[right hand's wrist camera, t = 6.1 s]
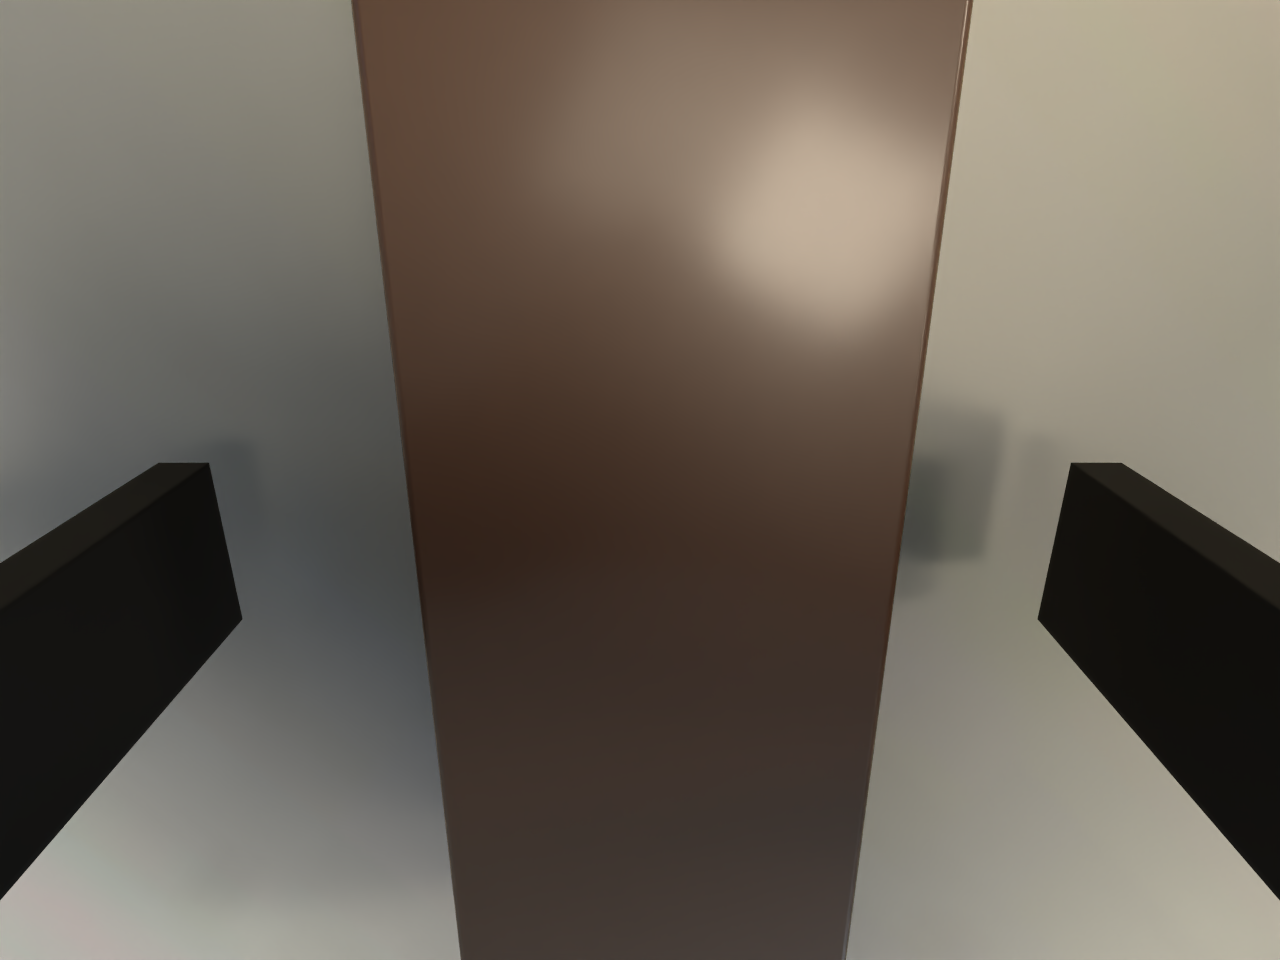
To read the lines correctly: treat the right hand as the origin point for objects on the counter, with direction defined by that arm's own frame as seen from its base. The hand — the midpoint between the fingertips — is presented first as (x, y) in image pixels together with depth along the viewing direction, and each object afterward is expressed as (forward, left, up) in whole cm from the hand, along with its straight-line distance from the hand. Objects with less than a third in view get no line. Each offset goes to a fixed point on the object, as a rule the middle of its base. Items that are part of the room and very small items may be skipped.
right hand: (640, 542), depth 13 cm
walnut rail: (0, -11, -2) cm, 11 cm away
